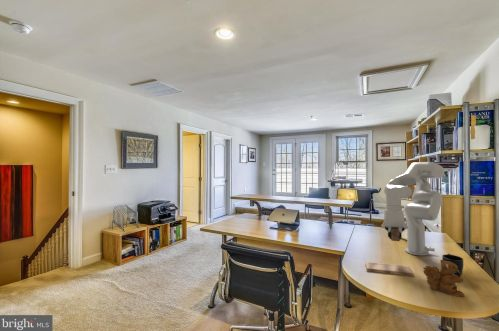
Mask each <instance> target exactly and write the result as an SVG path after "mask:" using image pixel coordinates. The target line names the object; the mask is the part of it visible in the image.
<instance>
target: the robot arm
mask: <svg viewBox="0 0 499 331" xmlns="http://www.w3.org/2000/svg"><path fill="white" fill-rule="evenodd" d="M444 175H445V168H443V166H442V165H440V164H438V163H435V162H432V161H420V162H419V161H418V162H412V163H411V164H410V165H409V166H408V167H407V169H406V170H405V171H404V173H403V174H400V175H399V176H395V177H394V178H392V179H391V180H389V181H388V182H387V184H386V185H385V187H384V189H383V191H384V192H383V193H384V195H385V203H386V204H385V205H386V206H385V207H386V208H385V209H384V212H383V213H384V215H383V222H382V224H381V225H380V226H381V227H382V229H385V230H386V231H387V237H388V238H389V240H391V231H390V230H391V227H397V228H399V237H400V240H401V239H402V233H403V232H404V231H405V230H406V236H407V237H406V240H407V242H406V243H407V244H406V245H407V247H405V248H404V251H405V252H406V253H408V254H410V255H414V256H428V255H429V254H430V253H429V252H436V250H435V247H433V248H432V247H431V246H430V247H429V246H426V232H425V231H426V230H425V229H426V228H425V224H424V222H423V221H428V222H430V221H432V222H433V221H436V220H437V219H438V216H439V213H440V210H441V207H442V202H443V196H442V194H441V193H440V192H439V191H437V190H436V191H435V190H432V185H431V183H430V182H429V181H428V180H427V179H441V178H443V176H444ZM414 184H415V188H414V190H413V191H412V189H411V187H410V186H411V185H414ZM409 198H411V201H412V203H407V204H405V205H402V199H409ZM403 209H404V210H403ZM405 218H406V220H405ZM422 220H423V221H422ZM405 221H406V222H405Z"/></svg>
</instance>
